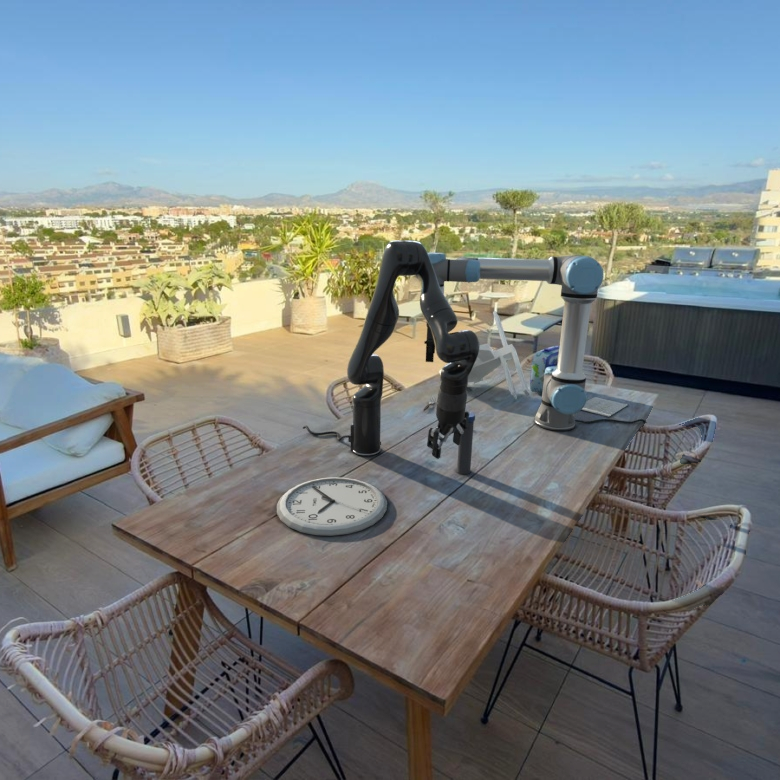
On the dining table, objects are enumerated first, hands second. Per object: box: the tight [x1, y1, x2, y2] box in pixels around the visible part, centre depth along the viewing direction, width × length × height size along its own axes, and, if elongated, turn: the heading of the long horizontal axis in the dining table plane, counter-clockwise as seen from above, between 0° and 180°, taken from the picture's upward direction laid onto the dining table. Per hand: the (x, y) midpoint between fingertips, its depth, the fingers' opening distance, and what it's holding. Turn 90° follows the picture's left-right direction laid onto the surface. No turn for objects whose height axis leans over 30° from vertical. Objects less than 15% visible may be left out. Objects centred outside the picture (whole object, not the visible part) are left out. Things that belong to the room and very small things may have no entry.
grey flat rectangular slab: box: [580, 396, 629, 418], centre depth 226 cm, size 21×1×15 cm
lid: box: [468, 411, 476, 422], centre depth 159 cm, size 5×5×2 cm
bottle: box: [456, 420, 475, 475], centre depth 161 cm, size 4×4×19 cm
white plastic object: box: [438, 310, 531, 400], centre depth 245 cm, size 37×45×31 cm
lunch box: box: [529, 345, 560, 394], centre depth 244 cm, size 26×11×21 cm, turn 135°
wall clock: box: [276, 476, 388, 537], centre depth 142 cm, size 30×2×30 cm
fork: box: [422, 395, 437, 412], centre depth 223 cm, size 3×16×2 cm, turn 160°
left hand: (446, 450), depth 144 cm, fingers open, 8 cm apart
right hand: (430, 357), depth 190 cm, fingers open, 13 cm apart
